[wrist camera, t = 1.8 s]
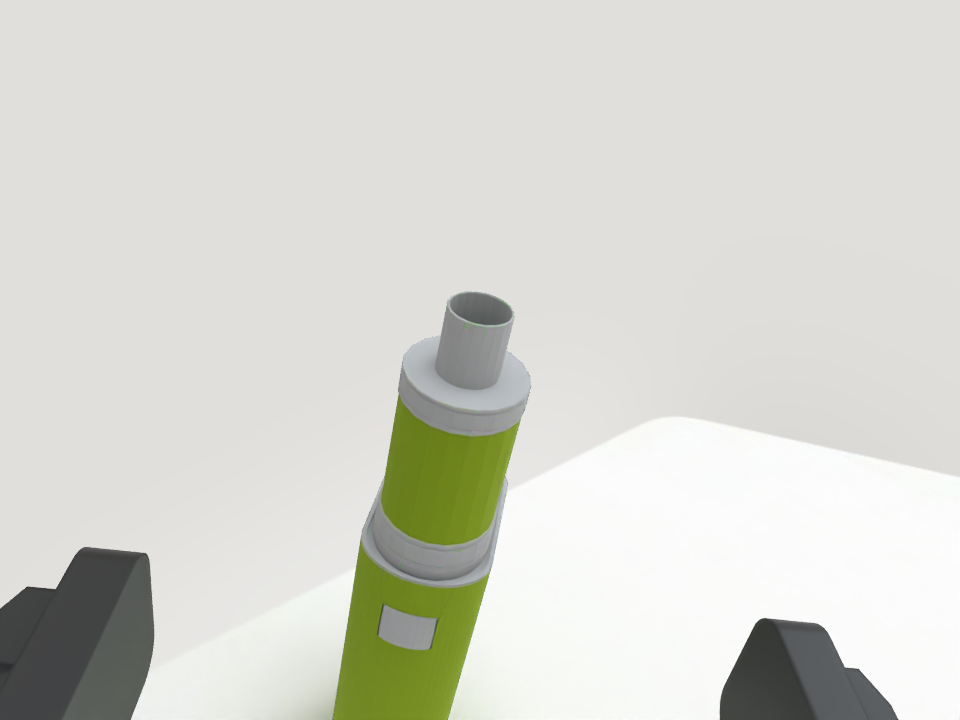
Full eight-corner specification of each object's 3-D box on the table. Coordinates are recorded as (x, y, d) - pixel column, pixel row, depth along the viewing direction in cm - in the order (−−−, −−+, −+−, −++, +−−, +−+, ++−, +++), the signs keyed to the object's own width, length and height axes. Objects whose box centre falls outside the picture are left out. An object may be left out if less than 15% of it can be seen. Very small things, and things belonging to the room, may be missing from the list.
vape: (310, 817, 28) (381, 329, 17) (359, 671, 33) (438, 225, 22) (414, 845, 28) (551, 372, 17) (447, 695, 33) (570, 257, 22)
